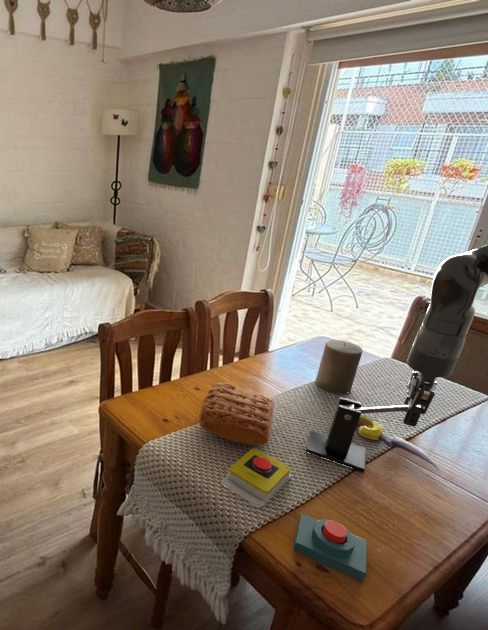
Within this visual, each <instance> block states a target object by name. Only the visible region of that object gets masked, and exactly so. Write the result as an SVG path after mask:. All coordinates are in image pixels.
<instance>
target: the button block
mask: <svg viewBox="0 0 488 630" xmlns="http://www.w3.org/2000/svg"><path fill="white" fill-rule="evenodd" d="M327 521H332V520H331V519H319V520H318V519H316V518H314V517H311V516H309V515H308V514H307V515H306V514H304V513H301V514H300V517H299V520H298V525H297V530H296V535H295V539H294V545H293V550H292V551H294V552H296V553H298V554H300V555H302V556H304V557H306V558H309V559H311V560H313V561H314V562H317V563H320V564H322V565H324V566H326V567H328V568H331V569H333V570H335V571H337V572H339V573H341V574H344V575H346V576H348V577H350V578H352V579H354V580H357V581H358V582H362V583H363V582H364V581H365V580H364V579H365V578H366V575H367V555H368V553H367V551H368V541H367V539H364V538H362V537H359V536H358V535H357V536H356V535H355V534H353V533H351V531H350V530H349V529H348V528H346V527H345V529H346V530H347V537H346V539H345V542H344V543H342V544H336V543H333V542H331V541H329V540H328V539H327V538H326V537H325V536H324V535H323V528H324V525H325V523H326V522H327Z"/></svg>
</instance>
